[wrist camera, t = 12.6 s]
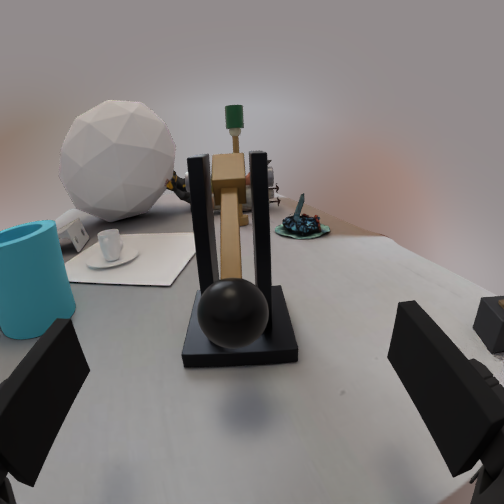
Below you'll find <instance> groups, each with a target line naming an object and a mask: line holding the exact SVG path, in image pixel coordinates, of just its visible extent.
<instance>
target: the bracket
mask: <svg viewBox="0 0 504 504" xmlns="http://www.w3.org/2000/svg"><path fill="white" fill-rule="evenodd" d="M81 230H82V231H83V233H84V235H83V234H82V233H81ZM57 233H58V238H59V239H71V241H72V243H73V244H74V246H75V248H76V250H77V252H78V253H79V252H80V250H81V249H82V248H83V246H84V245H85V243H86V242H87V241H88V239H89V236H88V234H87V232H86V230H85V228H84V226H83V224H82V223H81V221H80V219H79V218H78V219H76V220H74V221H72V222H71V223H69V224H67V225H66V226H64V227H62V228H60V229H59V230H57ZM75 237H76V238H77V240H78V243H77V242H76V241H75Z"/></svg>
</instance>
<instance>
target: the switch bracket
mask: <svg viewBox="0 0 504 504" xmlns="http://www.w3.org/2000/svg"><path fill="white" fill-rule="evenodd" d="M249 162H250V163H249V165H250V184H251V204H252V224H253V245H254V265H255V285H256V287H258V288H259V290H260V291H261V292H262V293H263V295H264V297H265V299H266V301H267V304H268V310H269V317H268V322H267V326H266V328H265V330H264V332H263V333H262V335H261V336H260V337H259V338H258V339H257V340H256V341H254V342H253V343H251V344H250V345H248V346H245V347H241V348H235V349H233V348H224V347H221V346H219V345H216V344H215V343H213V342H212V341H210V340H209V339H208V338H207V337H206V336H205V334H204V333H203V332H202V330H201V328H200V326H199V323H198V318H197V308H198V303H199V300H200V298H201V296H202V294H203V293H204V291H205V290H206V289H207V288H208V287H209V286H210V285H211V284H213V283H214V282H216V281H218V280H219V272H218V261H217V250H216V239H215V228H214V215H213V203H212V190H211V176H210V162H209V154H200V155H195V156H192V157H189V158H187V165H188V172H187V173H186V174H185V185H186V190H187V192H190V201H191V211H192V222H193V231H194V241H195V250H196V258H197V267H198V275H199V283H200V290H197V293H196V297H195V301H194V305H193V309H192V313H191V317H190V321H189V325H188V330H187V334H186V338H185V342H184V346H183V351H182V359H183V364H184V367H223V366H245V365H261V364H275V363H287V362H297V361H298V346H297V342H296V338H295V335H294V331H293V327H292V324H291V320H290V317H289V313H288V309H287V306H286V302H285V298H284V295H283V291H282V288H281V285H279V286H272V282H271V247H270V216H269V189H268V187H272V186H273V183H274V177H273V168H272V167H268V166H267V165H268V164H267V153H266V152H263V151H249Z"/></svg>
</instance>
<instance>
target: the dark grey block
mask: <svg viewBox="0 0 504 504" xmlns="http://www.w3.org/2000/svg"><path fill="white" fill-rule="evenodd" d="M473 328H474V330H475V331H476V332H477V334H478V335H479V337H480V338H481V339H482V341H483V342H484V344H485V345H486V346H487V348H488V349H489V351H490V352H491V353H497V352H503V351H504V296H495V297H482V298H481V301H480V304H479V308H478V311H477V315H476V318H475V321H474V325H473Z"/></svg>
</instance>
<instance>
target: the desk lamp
mask: <svg viewBox="0 0 504 504" xmlns="http://www.w3.org/2000/svg"><path fill="white" fill-rule="evenodd" d="M225 116H226V129H230V130H229V133H230V135H231V136H232V137H233V153H239V141H238V136H239V135H240V133H241V129H240V128H244V123H243V106H242V105H229V106H225ZM248 224H249V218H248V215H244V214H243V212H242V204H239V225H240V226H244V225H248Z"/></svg>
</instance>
